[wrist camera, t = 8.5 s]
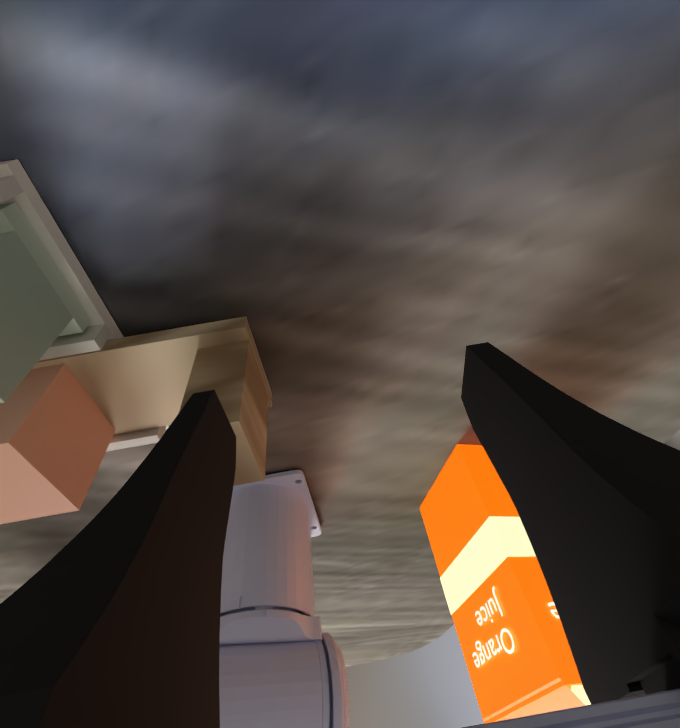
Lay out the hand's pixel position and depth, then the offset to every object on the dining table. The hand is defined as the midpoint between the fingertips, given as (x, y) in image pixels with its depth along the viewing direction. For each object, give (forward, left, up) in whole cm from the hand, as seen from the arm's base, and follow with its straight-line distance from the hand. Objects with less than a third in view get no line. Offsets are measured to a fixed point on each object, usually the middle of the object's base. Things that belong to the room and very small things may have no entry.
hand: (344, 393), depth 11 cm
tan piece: (-5, +11, -9) cm, 15 cm away
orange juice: (-22, -10, -10) cm, 26 cm away
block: (-5, +16, -8) cm, 18 cm away
